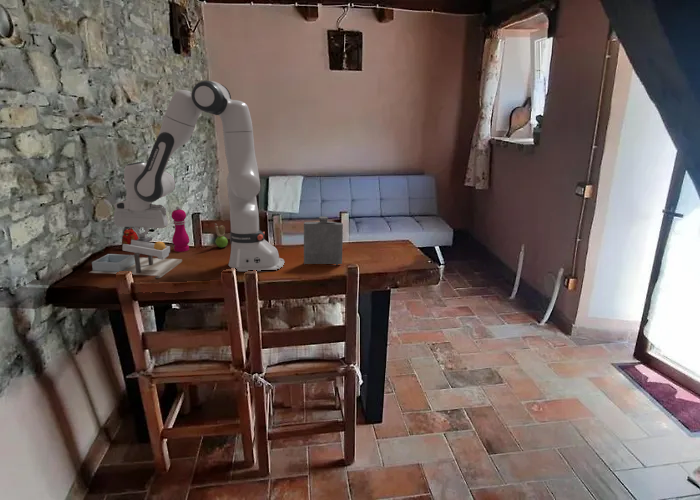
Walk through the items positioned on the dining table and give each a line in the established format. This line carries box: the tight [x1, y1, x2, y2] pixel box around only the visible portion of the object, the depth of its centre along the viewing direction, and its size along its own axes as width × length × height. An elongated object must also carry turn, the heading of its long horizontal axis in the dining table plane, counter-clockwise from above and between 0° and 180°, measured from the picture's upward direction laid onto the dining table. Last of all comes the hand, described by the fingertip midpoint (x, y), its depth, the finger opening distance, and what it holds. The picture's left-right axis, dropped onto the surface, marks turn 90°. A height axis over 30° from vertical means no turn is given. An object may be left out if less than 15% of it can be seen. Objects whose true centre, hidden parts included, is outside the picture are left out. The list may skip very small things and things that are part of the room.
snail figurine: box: [214, 223, 229, 249], centre depth 203 cm, size 5×6×12 cm
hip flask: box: [303, 215, 344, 266], centre depth 184 cm, size 16×4×20 cm, turn 90°
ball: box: [154, 241, 166, 250], centre depth 169 cm, size 4×4×4 cm
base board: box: [88, 253, 183, 279], centre depth 174 cm, size 27×20×8 cm
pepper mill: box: [171, 205, 190, 253], centre depth 197 cm, size 7×7×20 cm
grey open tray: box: [91, 253, 135, 272], centre depth 172 cm, size 11×11×4 cm
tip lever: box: [122, 236, 171, 260], centre depth 174 cm, size 16×17×4 cm
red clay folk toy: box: [121, 227, 139, 248], centre depth 197 cm, size 8×7×15 cm
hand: (143, 237), depth 179 cm, fingers closed
